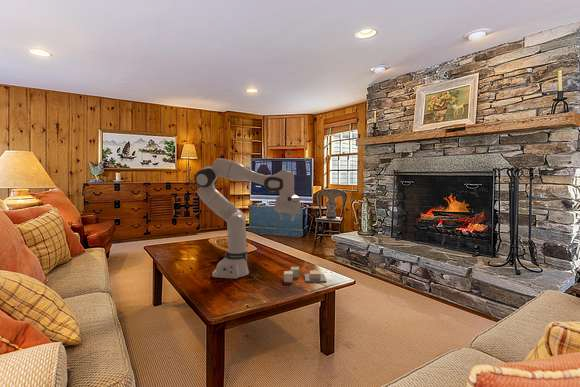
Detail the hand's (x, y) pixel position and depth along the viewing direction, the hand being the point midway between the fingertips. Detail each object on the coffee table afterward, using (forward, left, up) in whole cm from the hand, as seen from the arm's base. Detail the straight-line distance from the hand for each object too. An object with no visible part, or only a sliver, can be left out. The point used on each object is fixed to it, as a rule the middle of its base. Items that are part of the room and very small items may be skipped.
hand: (287, 220), depth 186 cm
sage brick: (+5, +1, -35) cm, 35 cm away
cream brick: (+1, -7, -35) cm, 36 cm away
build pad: (+17, -4, -35) cm, 39 cm away
